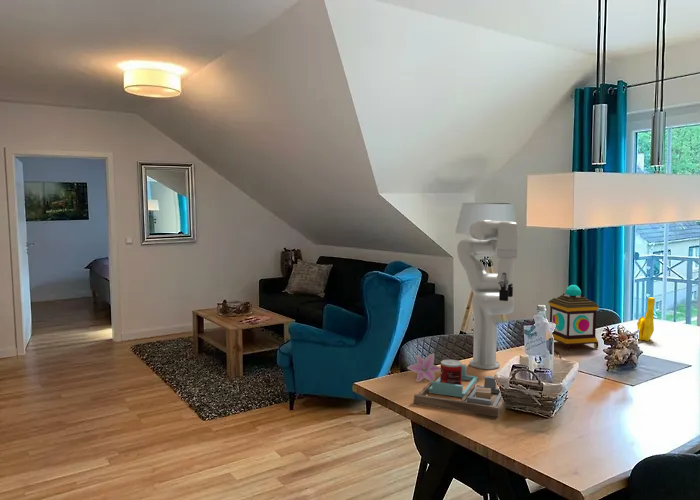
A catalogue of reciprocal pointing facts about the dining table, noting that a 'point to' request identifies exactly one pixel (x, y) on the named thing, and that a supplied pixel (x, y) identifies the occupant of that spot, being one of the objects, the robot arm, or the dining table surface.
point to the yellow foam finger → (647, 322)
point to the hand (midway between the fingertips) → (506, 298)
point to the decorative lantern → (574, 318)
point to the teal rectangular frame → (453, 385)
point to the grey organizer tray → (487, 384)
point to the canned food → (451, 372)
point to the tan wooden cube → (483, 393)
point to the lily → (424, 367)
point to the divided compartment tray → (457, 403)
